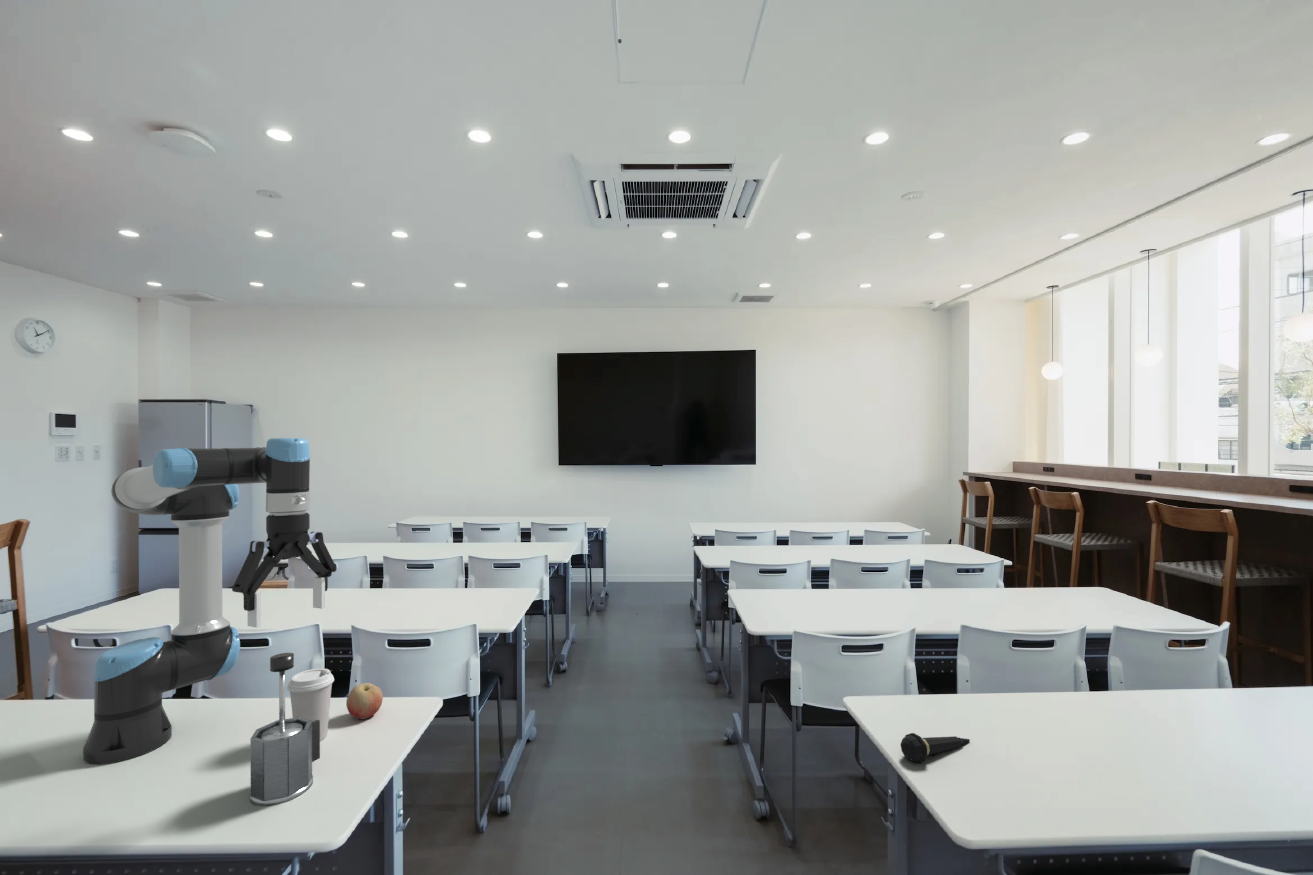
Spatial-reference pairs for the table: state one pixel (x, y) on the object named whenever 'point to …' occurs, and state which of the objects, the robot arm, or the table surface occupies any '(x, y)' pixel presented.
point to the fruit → (364, 700)
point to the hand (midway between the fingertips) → (288, 616)
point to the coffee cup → (312, 696)
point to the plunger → (281, 699)
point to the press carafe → (283, 763)
